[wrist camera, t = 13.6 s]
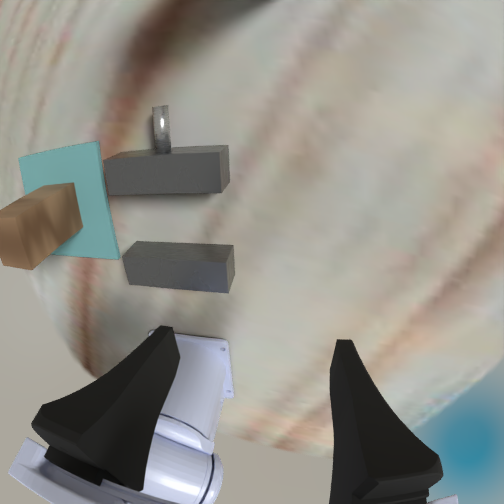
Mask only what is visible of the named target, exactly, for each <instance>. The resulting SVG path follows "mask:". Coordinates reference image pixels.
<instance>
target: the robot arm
mask: <svg viewBox="0 0 504 504" xmlns="http://www.w3.org/2000/svg"><path fill="white" fill-rule="evenodd" d="M222 347H223V348H222ZM233 397H234V389H233V381H232V372H231V363H230V354H229V345H228V342H227V341H226V340H224V339H215V338H206V337H198V336H189V335H182V334H174V331H173V327H168V326H159V327H158V328H157V329H156V330H155V331H153V330H151V331H150V332H149V337H148V338H147V339H146V340H145V341H144V342H143V343H141V344H140V345H139V346H138V347H137V348H136V349H135V350H134V351H133V352H132V353H131V354H130V355H128V356H127V357H126V358H125V359H124V360H123V361H121V362H120V363H119V364H118V365H117V366H115V367H114V368H113V369H112V370H110V371H109V372H108V373H106V374H105V375H103V376H102V377H100V378H99V379H97V380H96V381H94V382H92V383H91V384H89V385H87V386H86V387H84V388H82V389H80V390H78V391H76V392H74V393H72V394H70V395H68V396H65V397H63V398H61V399H58V400H55V401H52V402H49V403H47V404H43V405H42V406H41V408H40V410H39V411H38V413H37V415H36V416H35V418H34V420H33V421H32V423H31V424H32V428H33V429H34V430H35V431H36V433H37V434H38V435H40V437H41V438H42V439H44V440H45V441H46V442H47V443H48V444H49V445H50V446H49V448H48V449H46V448H45V447H43V446H42V445H40V444H38V443H37V442H35V441H33V440H32V439H30V438H28V437H27V438H26V439H25V441H24V443H23V445H22V447H21V449H20V450H19V452H18V454H17V456H16V458H15V460H14V462H13V464H12V466H11V468H10V470H9V471H8V473H9V475H11V476H12V477H13V478H15V479H16V480H18V481H19V482H20V483H22V484H23V485H25V486H26V487H27V488H29V489H30V490H32V491H33V492H35V493H36V494H38V495H39V496H41V497H42V498H44V499H45V500H47V501H48V502H50V503H52V504H213V503H214V501H215V499H216V498H217V496H218V493H219V491H220V488H221V485H222V479H223V465H222V462H221V459H220V457H219V455H218V454H216V453H213V449H214V444H215V443H214V442H213V440H214V438H215V434H216V430H217V426H218V422H219V418H220V414H221V410H222V406H223V402H224V398H233ZM330 398H331V409H332V419H333V430H334V453H333V470H332V483H331V493H330V500H329V504H458V498H457V495H452V496H448V497H445V498H441V499H437V500H434V501H431V502H428V503H427V501H426V497H428V496H429V489H428V488H430V487H431V486H433V485H434V484H435V483H437V482H438V481H439V480H441V478H442V477H443V470H442V465H441V462H440V458H439V455H438V454H436V453H435V452H434V451H432V450H431V449H430V448H428V447H427V446H426V445H425V444H424V443H423V442H422V441H421V440H419V439H418V438H417V437H416V436H415V435H414V434H413V433H412V432H411V431H410V430H409V429H408V428H407V427H406V425H405V424H404V423H403V422H402V421H401V420H400V419H399V418H398V416H397V415H396V414H395V413H394V412H393V410H392V409H391V408H390V406H389V405H388V404H387V402H386V401H385V400H384V398H383V397H382V395H381V394H380V392H379V391H378V389H377V387H376V386H375V384H374V382H373V381H372V379H371V377H370V376H369V374H368V372H367V370H366V368H365V366H364V365H363V363H362V361H361V359H360V357H359V355H358V352H357V350H356V348H355V346H354V343H353V341H352V340H340V339H337V342H336V346H335V350H334V355H333V359H332V363H331V367H330Z"/></svg>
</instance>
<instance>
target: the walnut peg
mask: <svg viewBox="0 0 504 504" xmlns="http://www.w3.org/2000/svg"><path fill="white" fill-rule="evenodd" d="M82 228H83V223H82V219H81V214H80V210H79V205H78V200H77V196H76V190H75V185H74V182H73V183H63V184H53V185H43V186H41V187H40V188H38V189H36V190H34V191H32V192H30V193H29V194H27V195H25V196H23V197H22V198H20V199H18V200H16V201H15V202H13V203H11V204H10V205H8V206H6V207H5V208H3V209H1V210H0V258H1V261H2V263H3V265H4V266H10V267H16V268H22V269H28V270H33V269H34V268H35V267H36V266H37V265H38V264H39V263H41V262H42V261H43V260H44V259H45V258H46V257H47V256H49V255H50V254H51V253H52V252H53V251H55V250H56V249H57V248H58V247H59V246H60V245H62V244H63V243H64V242H65V241H67V240H68V239H69V238H70V237H71V236H73V235H74V234H75V233H76V232H78V231H79V230H80V229H82Z"/></svg>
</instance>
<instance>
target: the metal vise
mask: <svg viewBox="0 0 504 504" xmlns="http://www.w3.org/2000/svg"><path fill="white" fill-rule="evenodd" d="M152 110H153V123H154V135H155V146H156V149H148V150H138V151H128V152H121V153H119V154H116V155H114V156H112V157H110V158H107V159H105V160H103V161H104V168H105V175H106V181H107V187H108V192H109V195H131V194H168V193H222V192H223V190H224V189H225V188H226V186H227V185H228V184H229V182H230V172H229V149H228V145H216V146H191V147H174V148H171V140H170V127H169V113H168V105H166V106H158V107H152ZM122 258H123V262H124V266H125V270H126V273H127V277H128V281H129V284H131V285H140V286H150V287H161V288H171V289H182V290H194V291H206V292H219V293H229V290H230V287H231V284H232V281H233V278H234V275H235V266H234V249H233V245H217V244H193V243H169V242H144V241H136V242H135V243H134V244H133V246H132V247H131V248H130V249H129V250H128V251H127V252H126V253H125V254H124V255H123V256H122Z"/></svg>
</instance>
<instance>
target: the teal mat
mask: <svg viewBox="0 0 504 504" xmlns="http://www.w3.org/2000/svg"><path fill="white" fill-rule="evenodd" d="M18 159H19V165H20V170H21V175H22V180H23V185H24V189H25V194H26V195H27V194H29V193H30V192H32V191H34V190H36V189H38V188H40V187H41V186H43V185H53V184H63V183H73V182H74V185H75V190H76V196H77V200H78V205H79V210H80V214H81V219H82V223H83V228H82V229H80V230H79V231H78V232H76V233H75V234H74V235H73V236H71V237H70V238H69V239H68V240H67V241H65V242H64V243H63V244H62V245H60V246H59V247H58V248H57V249H56V250H55V251H53V252H52V253H51V254H53V255H66V256H78V257H92V258H105V259H119V258H120V253H119V249H118V244H117V240H116V236H115V231H114V227H113V222H112V217H111V213H110V208H109V202H108V197H107V192H106V186H105V180H104V174H103V168H102V161H101V154H100V146H99V141H96V142H90V143H84V144H79V145H73V146H68V147H63V148H59V149H54V150H49V151H45V152H41V153H36V154H32V155H28V156H24V157H21V158H18Z"/></svg>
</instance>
